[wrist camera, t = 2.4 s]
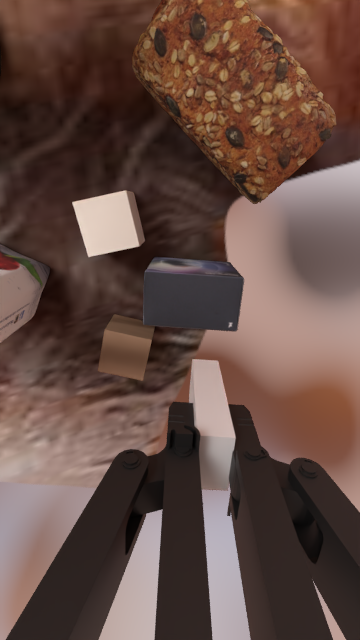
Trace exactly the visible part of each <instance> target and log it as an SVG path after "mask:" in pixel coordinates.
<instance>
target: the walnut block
mask: <svg viewBox="0 0 360 640" xmlns="http://www.w3.org/2000/svg"><path fill="white" fill-rule="evenodd" d="M154 329H155V326H150V325H143V321H142V320H138V319H133V318H129V317H125V316H120V315H116V314H114V315H113V317H112V319H111V320H110V322H109V323H108V325H107V327H106V328H105V331H104V337H103V342H102V348H101V354H100V360H99V366H98V371H99V372H104V373H109V374H113V375H118V376H123V377H128V378H132V379H137V380H142V381H143V377H144V373H145V368H146V364H147V360H148V355H149V351H150V347H151V342H152V338H153V333H154Z"/></svg>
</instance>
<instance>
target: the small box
mask: <svg viewBox="0 0 360 640" xmlns="http://www.w3.org/2000/svg"><path fill="white" fill-rule="evenodd" d="M243 285H244V278H243V277H242V276H241V275H240V274H239V273H238V271H237V270H236V269H235V268H234V267H233V266H232V264H231V263H230V262H220V261H207V260H194V259H181V258H167V257H154V258H153V260H152V261H151V263H150V265H149V266H148V268H147V270H146V271H145V275H144V301H143V325H150V326H164V327H178V328H192V329H207V330H221V331H237V330H238V321H239V315H240V306H241V300H242V292H243Z"/></svg>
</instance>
